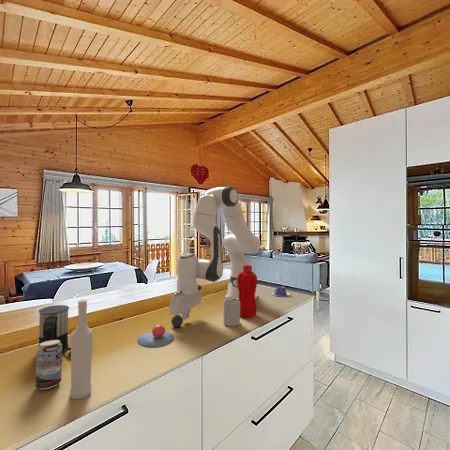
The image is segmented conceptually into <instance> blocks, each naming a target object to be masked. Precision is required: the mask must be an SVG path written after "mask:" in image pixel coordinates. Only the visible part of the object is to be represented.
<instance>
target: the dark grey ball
mask: <svg viewBox="0 0 450 450" xmlns="http://www.w3.org/2000/svg"><path fill="white" fill-rule="evenodd" d="M170 323H171V325H172V327H174V328H179V327H181V326H182V325H183V323H184V320H183V319H182V316H181V315H180V314H178V315H173V317H172V318H171V322H170Z"/></svg>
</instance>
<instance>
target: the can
mask: <svg viewBox="0 0 450 450" xmlns="http://www.w3.org/2000/svg"><path fill="white" fill-rule="evenodd" d="M240 319H241V316H240V301H239V298H238V297H232V296H231V297H225V299H224V301H223V323H224V325H225V326H227V327H232V328H233V327H238V325H240V323H241V321H240Z"/></svg>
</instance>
